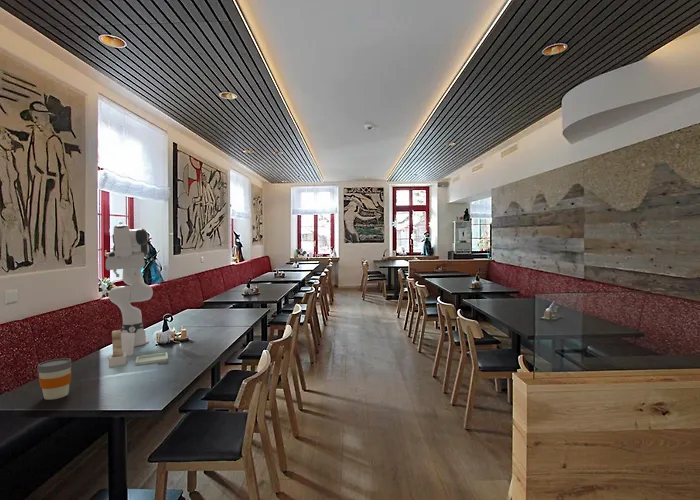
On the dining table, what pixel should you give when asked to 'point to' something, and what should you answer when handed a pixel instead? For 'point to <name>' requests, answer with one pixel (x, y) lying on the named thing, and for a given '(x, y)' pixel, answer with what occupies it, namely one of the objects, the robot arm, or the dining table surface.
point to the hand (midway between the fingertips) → (126, 276)
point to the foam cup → (127, 343)
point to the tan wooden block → (116, 343)
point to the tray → (152, 359)
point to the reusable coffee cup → (55, 377)
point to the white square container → (117, 360)
